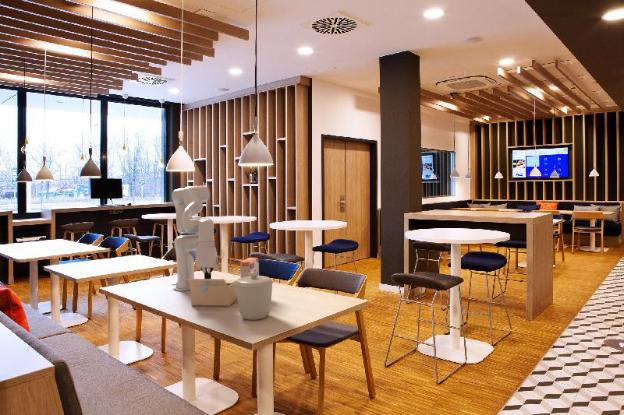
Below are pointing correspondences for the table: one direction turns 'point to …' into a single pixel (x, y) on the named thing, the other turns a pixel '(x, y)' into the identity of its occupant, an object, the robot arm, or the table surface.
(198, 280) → the near flap
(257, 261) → the cracker box
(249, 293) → the canister
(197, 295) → the carton
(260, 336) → the table surface
